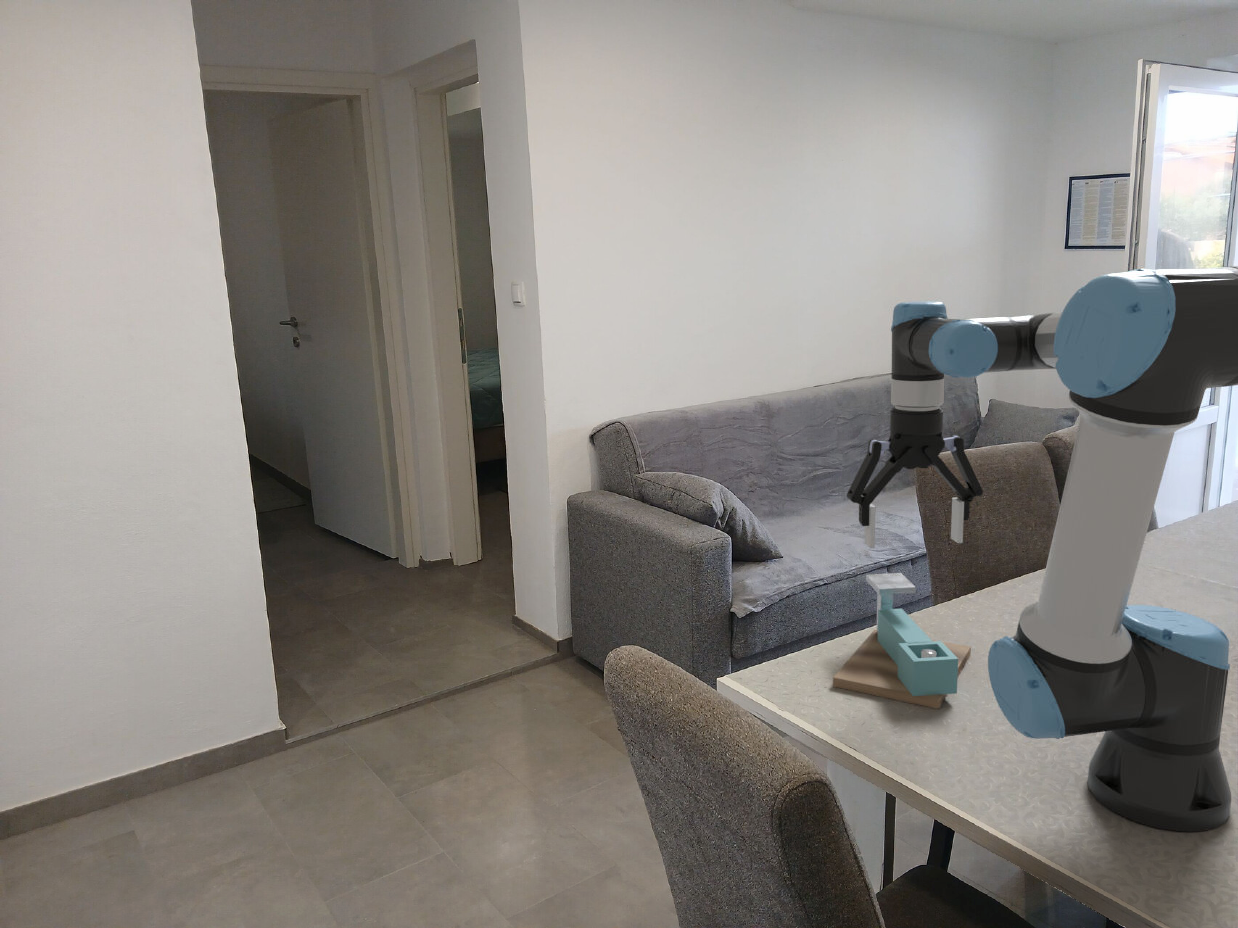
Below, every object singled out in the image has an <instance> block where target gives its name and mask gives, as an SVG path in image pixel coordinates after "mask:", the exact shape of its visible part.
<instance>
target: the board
mask: <svg viewBox="0 0 1238 928" xmlns="http://www.w3.org/2000/svg"><path fill="white" fill-rule="evenodd" d="M931 640H932V641H936V640H935V639H931ZM942 642H943V643H944V644H945V646H946V647H947V648H948V649H949V650H950V651H951V652H952V653H953V654H954V655H955V656H956V657H957V658H958V676H959V675H960V673H961V672H962V670H963V669H964V667H965V666H966V663H967V662H968V660H969V659H970V657H971V651H972V646H969V645H963V644H957V643H951V642H946V641H942ZM832 687H833V688H834V687H835V688H838V689H839V688H840V689H844V690H849V691H853V692H858V693H862V694H867V695H872V696H877V697H881V698H886V699H890V700H895V701H900V702H905V703H909V704H914V705H920V706H923V707H929V708H933V709H936V710H937V709H938V710H939V709H940V707H941V705H942V704H943V703H944V700H945V698H946V697H947V695H948V694H939V695H923V696H912V694H911V693H910V692H909V691H908V689H907V688H906V687H905V685H904V684H903V683H902V682H901V680H900V679H899V678H898V666H897V664H896V663H895V662H894V661H893V659H892V658H891V657H890V656H889V654H888V653H887V652H886V651H885V649H884V648H883V647H882V646H881V644H880V643H879V642H878V633H877V629H874V630H873V631H872V632H871V633H870V634H869V636H868V637H866V639H865V640H864V641H863V642H862V644H861V645H859V647H858V648H857V649H856V650H855V651H854V653H852V654H851V656H850V657H849V658H848V660H847V661H846V662H844V664H843V665H842V666H841V668H840V669H839V670H838V671H837V672H836V673H835V675H834V676H832Z"/></svg>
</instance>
